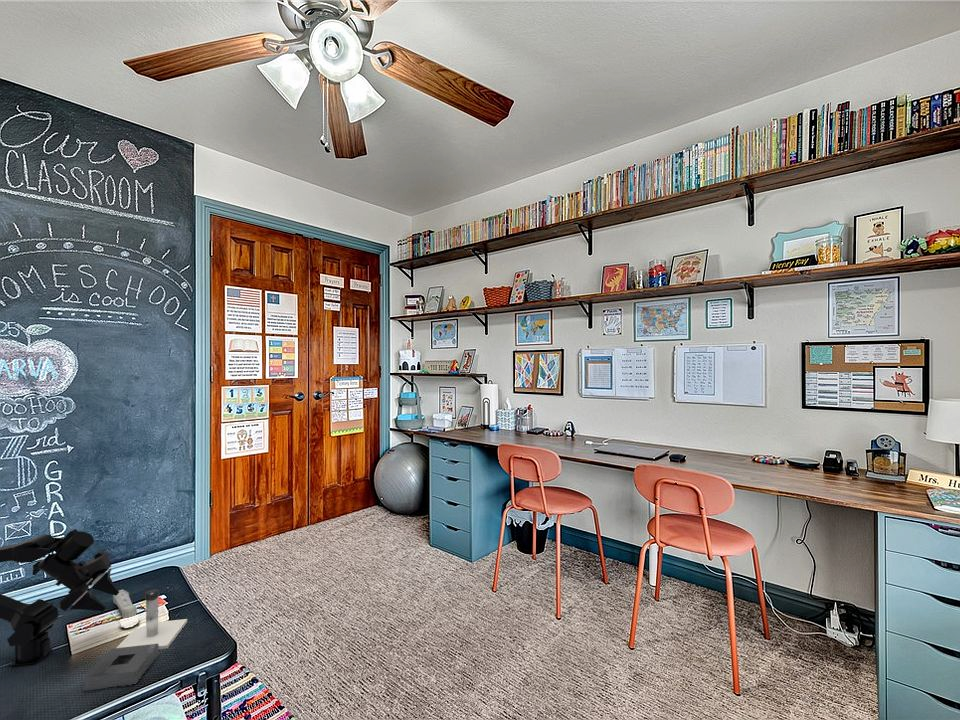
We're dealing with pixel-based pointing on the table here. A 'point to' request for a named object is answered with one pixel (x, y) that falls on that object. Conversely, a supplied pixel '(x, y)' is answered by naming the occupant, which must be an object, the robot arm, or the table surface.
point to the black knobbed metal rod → (152, 612)
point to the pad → (163, 638)
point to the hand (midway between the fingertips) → (111, 601)
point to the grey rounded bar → (124, 604)
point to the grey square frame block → (121, 667)
